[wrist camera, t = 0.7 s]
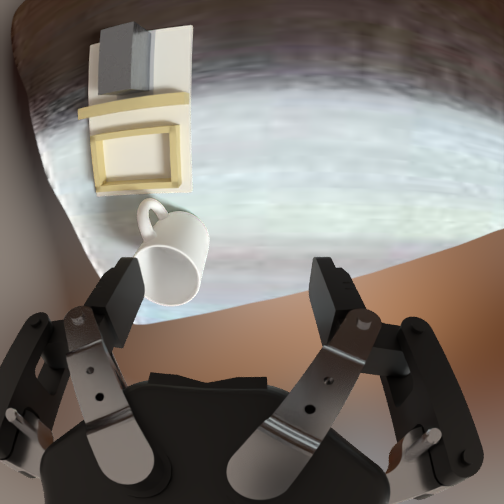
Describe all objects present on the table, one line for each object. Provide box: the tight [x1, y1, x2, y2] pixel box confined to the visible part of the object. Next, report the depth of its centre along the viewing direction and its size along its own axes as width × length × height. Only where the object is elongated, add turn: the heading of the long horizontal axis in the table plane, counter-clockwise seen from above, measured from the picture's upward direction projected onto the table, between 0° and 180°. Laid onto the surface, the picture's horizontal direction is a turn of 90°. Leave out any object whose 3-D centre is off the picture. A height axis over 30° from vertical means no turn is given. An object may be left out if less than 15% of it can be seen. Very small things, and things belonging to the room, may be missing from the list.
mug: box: [133, 198, 209, 306], centre depth 33 cm, size 12×8×10 cm
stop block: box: [98, 22, 151, 96], centre depth 23 cm, size 8×4×6 cm, turn 179°
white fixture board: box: [78, 25, 193, 197], centre depth 28 cm, size 22×14×4 cm, turn 179°
